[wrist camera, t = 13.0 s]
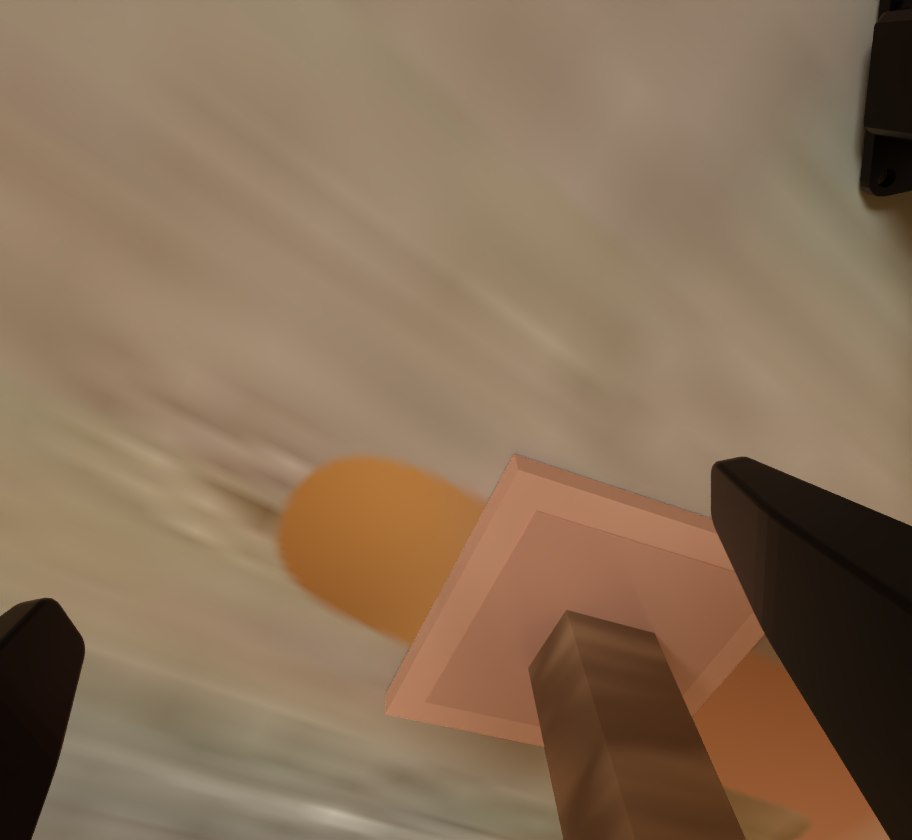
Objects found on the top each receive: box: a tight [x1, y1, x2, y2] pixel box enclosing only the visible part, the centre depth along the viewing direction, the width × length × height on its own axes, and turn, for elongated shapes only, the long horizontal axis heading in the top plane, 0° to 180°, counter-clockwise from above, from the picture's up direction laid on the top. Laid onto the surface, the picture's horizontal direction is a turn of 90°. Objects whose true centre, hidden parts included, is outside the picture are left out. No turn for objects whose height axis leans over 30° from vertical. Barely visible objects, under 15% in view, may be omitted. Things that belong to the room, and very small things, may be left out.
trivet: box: [385, 454, 765, 747], centre depth 26 cm, size 13×13×1 cm
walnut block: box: [528, 610, 746, 840], centre depth 21 cm, size 3×4×11 cm
